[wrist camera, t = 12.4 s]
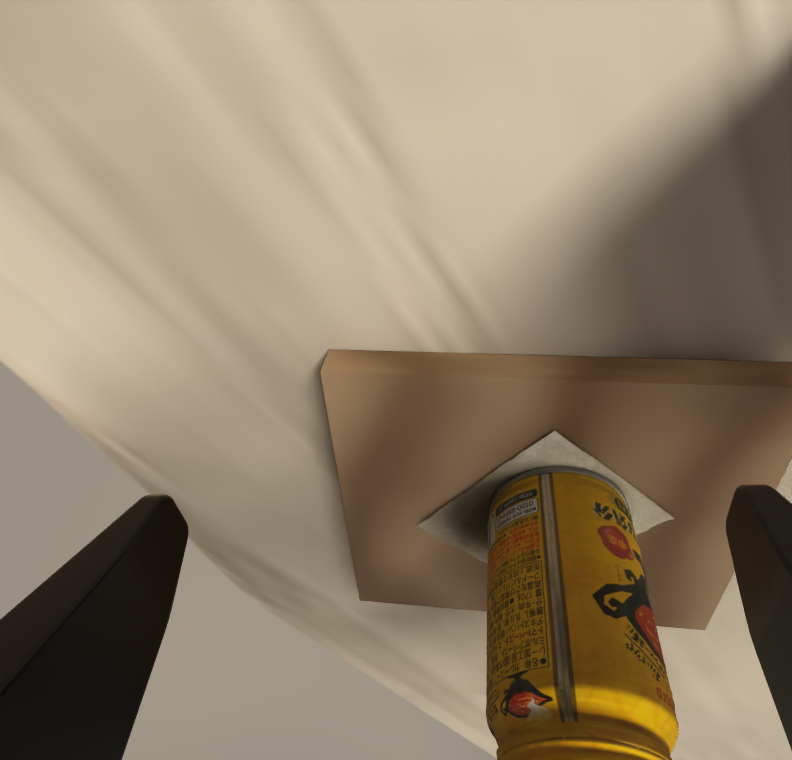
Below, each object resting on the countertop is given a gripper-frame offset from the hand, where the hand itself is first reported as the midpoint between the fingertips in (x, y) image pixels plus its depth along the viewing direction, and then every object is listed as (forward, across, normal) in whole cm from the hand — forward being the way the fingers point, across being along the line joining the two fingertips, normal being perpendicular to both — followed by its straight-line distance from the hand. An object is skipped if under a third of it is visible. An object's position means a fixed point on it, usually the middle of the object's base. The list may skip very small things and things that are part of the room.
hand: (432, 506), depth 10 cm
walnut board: (+13, -2, +15) cm, 20 cm away
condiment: (+11, -2, +15) cm, 19 cm away
